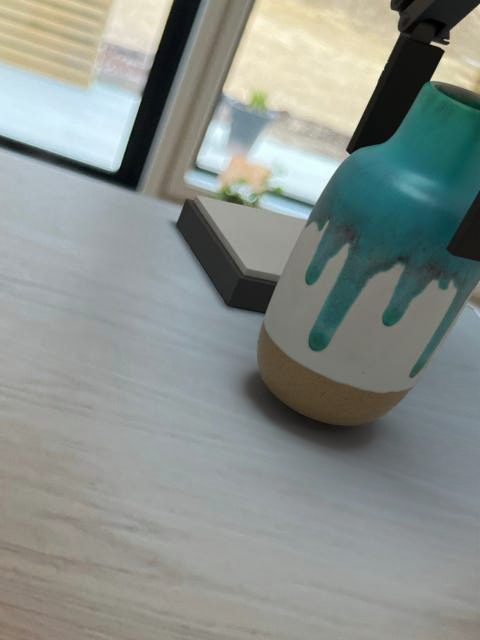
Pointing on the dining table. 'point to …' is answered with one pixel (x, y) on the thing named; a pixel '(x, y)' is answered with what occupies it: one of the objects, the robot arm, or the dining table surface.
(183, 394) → the dining table surface
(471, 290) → the vase
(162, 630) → the dining table surface
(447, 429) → the dining table surface
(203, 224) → the scale
